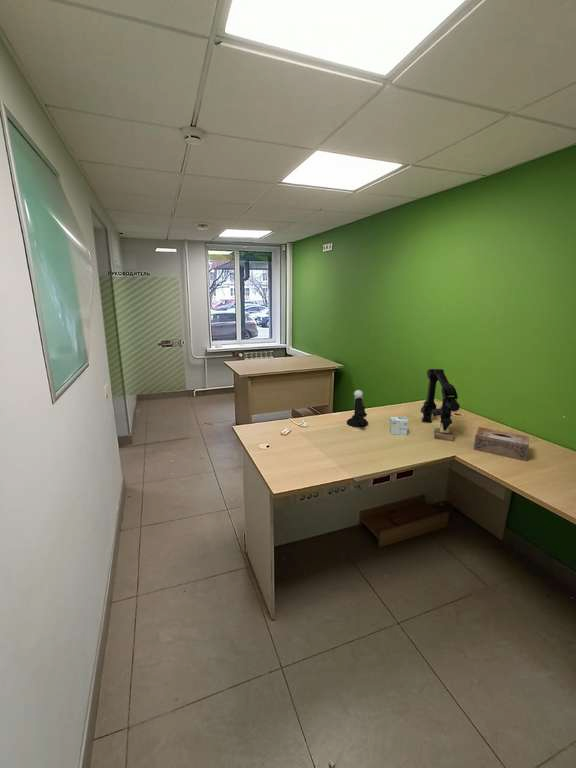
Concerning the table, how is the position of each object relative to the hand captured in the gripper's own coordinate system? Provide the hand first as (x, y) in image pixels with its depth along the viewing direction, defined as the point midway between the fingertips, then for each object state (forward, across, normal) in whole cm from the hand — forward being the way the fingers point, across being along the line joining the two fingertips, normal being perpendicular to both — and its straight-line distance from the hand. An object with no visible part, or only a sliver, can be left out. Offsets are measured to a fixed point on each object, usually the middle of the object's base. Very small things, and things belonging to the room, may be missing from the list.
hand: (444, 428), depth 216 cm
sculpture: (+6, 0, -55) cm, 55 cm away
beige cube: (+2, 0, 0) cm, 2 cm away
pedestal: (+6, 0, 0) cm, 6 cm away
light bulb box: (+6, +4, -28) cm, 29 cm away
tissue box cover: (+6, +10, +30) cm, 32 cm away
